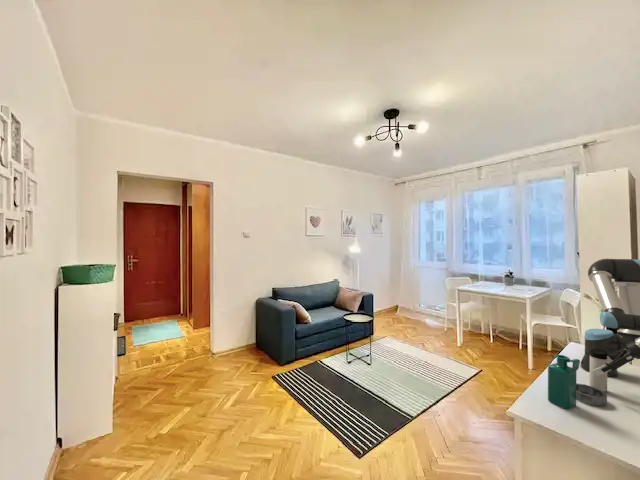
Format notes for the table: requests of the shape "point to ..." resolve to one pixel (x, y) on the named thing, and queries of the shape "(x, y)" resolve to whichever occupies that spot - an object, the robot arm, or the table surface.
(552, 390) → the green bottle
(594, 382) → the travel mug
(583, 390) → the ring collar
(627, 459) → the table surface
